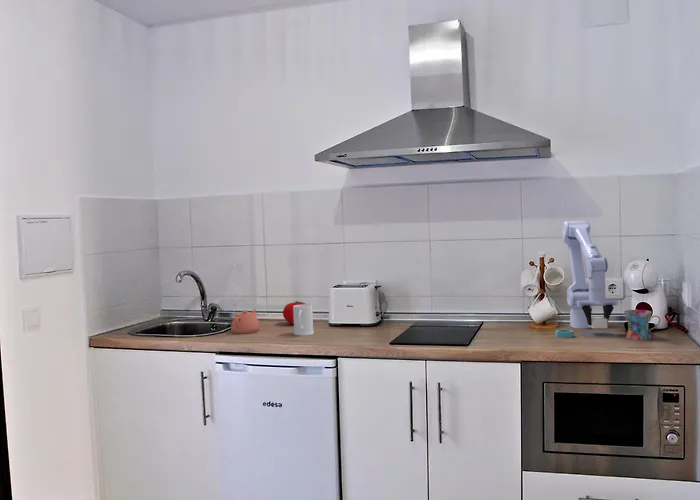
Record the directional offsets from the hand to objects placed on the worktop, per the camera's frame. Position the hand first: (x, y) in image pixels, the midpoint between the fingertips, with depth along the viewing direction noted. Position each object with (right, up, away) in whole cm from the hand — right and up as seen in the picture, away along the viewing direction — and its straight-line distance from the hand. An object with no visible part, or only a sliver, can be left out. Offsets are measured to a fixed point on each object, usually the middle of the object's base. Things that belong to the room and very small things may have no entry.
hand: (597, 324), depth 249 cm
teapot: (-139, -8, +40) cm, 145 cm away
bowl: (-13, -5, -1) cm, 14 cm away
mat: (0, -5, 0) cm, 5 cm away
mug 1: (-114, -7, +28) cm, 117 cm away
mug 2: (+13, -5, -9) cm, 17 cm away
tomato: (-118, -6, +56) cm, 131 cm away
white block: (0, -1, 0) cm, 1 cm away
